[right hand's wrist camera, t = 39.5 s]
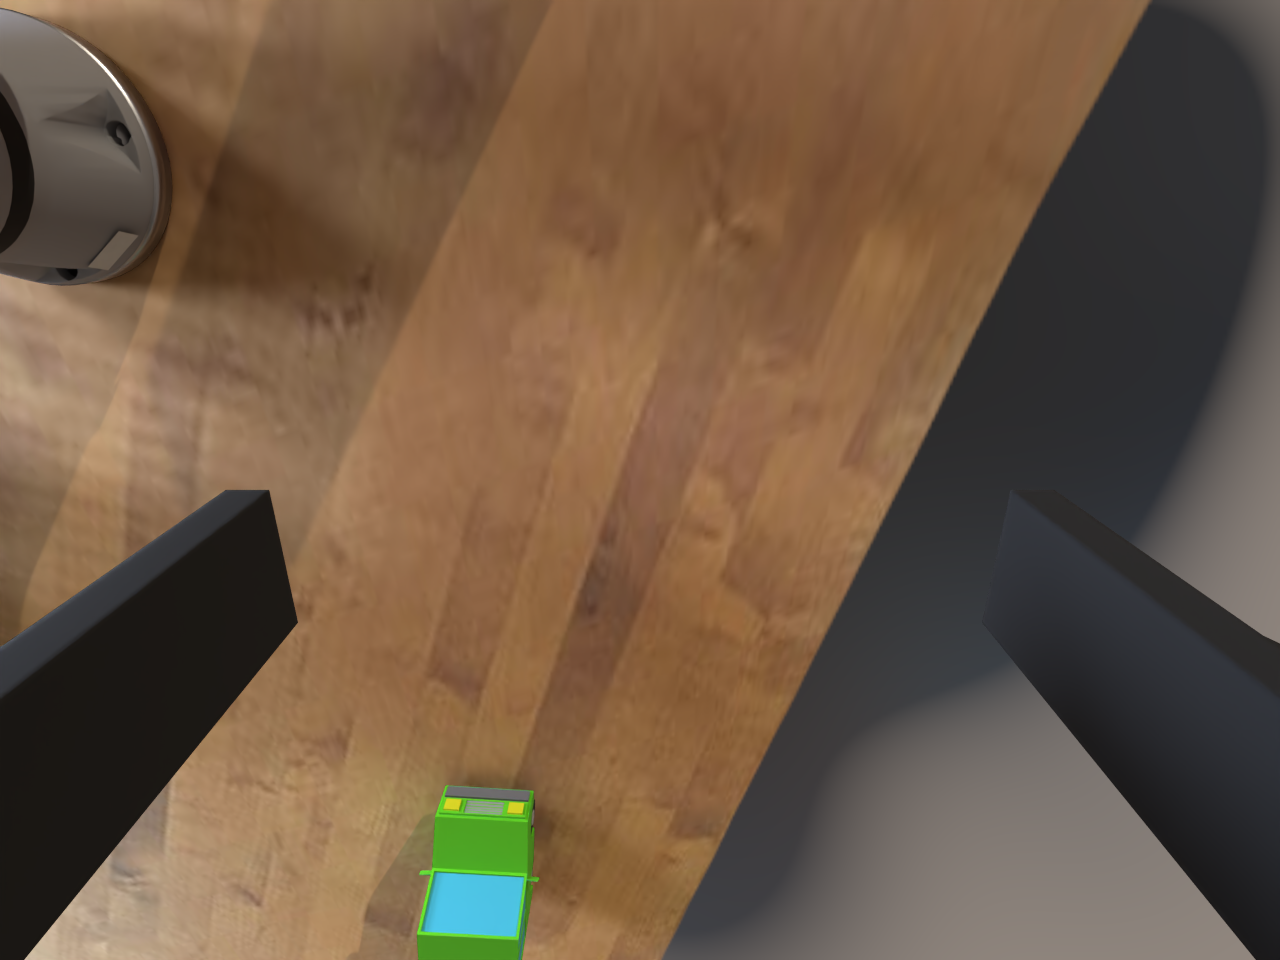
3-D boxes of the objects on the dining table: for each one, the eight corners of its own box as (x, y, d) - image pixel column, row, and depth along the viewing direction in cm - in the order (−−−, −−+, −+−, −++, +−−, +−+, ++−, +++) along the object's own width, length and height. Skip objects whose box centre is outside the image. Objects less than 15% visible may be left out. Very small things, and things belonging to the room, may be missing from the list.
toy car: (549, 777, 62) (533, 877, 53) (544, 881, 67) (529, 990, 58) (435, 770, 62) (399, 870, 53) (439, 875, 67) (407, 983, 58)
